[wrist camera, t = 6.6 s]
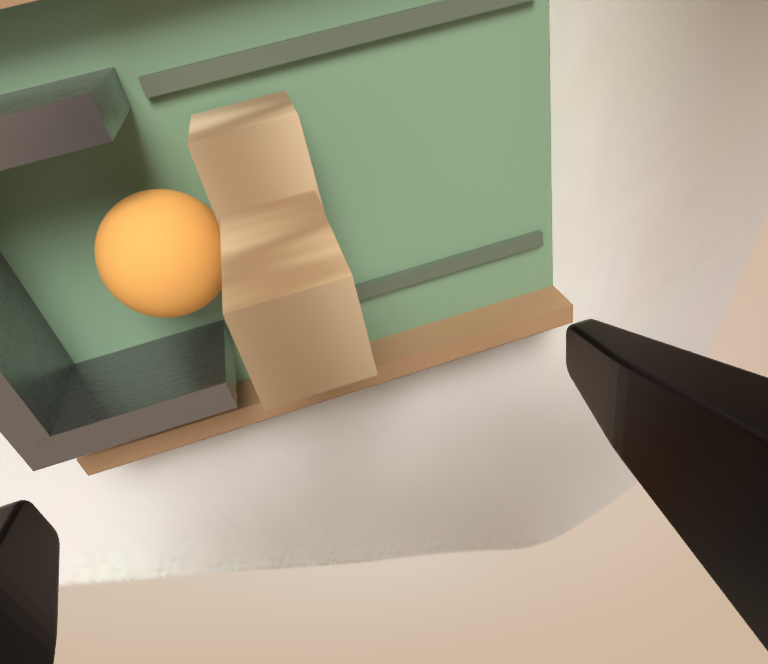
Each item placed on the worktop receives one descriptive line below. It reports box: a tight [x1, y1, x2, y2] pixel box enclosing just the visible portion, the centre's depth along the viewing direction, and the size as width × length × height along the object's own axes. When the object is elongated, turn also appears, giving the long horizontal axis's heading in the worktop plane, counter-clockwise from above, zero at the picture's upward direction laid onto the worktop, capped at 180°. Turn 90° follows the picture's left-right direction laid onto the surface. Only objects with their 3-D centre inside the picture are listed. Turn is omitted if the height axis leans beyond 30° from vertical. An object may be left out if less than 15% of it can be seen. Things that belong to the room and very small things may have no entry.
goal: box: [0, 67, 237, 471], centre depth 15 cm, size 6×9×4 cm, turn 11°
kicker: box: [187, 91, 378, 411], centre depth 14 cm, size 3×6×8 cm, turn 11°
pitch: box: [0, 0, 573, 476], centre depth 17 cm, size 18×14×2 cm
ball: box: [94, 189, 222, 318], centre depth 16 cm, size 4×4×4 cm
